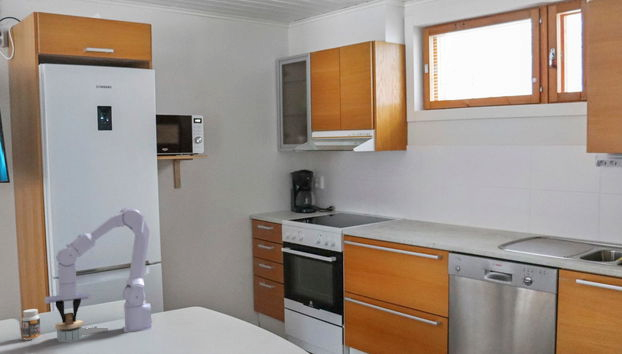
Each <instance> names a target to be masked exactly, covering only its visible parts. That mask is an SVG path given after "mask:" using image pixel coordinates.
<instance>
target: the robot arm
mask: <svg viewBox="0 0 622 354" xmlns="http://www.w3.org/2000/svg"><path fill="white" fill-rule="evenodd" d="M125 226H126V227H127V228H129V230H130V231H131V232H132V233H133V234H134V241H133V247H132V255H131V260H130V268H129V269H130V270H129V276H128V279H127V280H126V285H125V287H124V288H123V291H122V297H123V300H125V302H124V304H123V308H124V309H123V310H124V311H123V312H124V326H123V332H124V333H128V332H129V333H130V332H137V331H138V332H139V331H146V330H148V331H149V330H152V329H153V328H152V324H153V320H152V319H153V318H152V306H151V303H148V302H147V303H146V301H145V300H146V297H147V296H146V292H145V282H144V281H145V280H144V276H145V270H146V269H145V268H146V263H147V254H148V248H149V239H150V233H151V232H150V228H149V226H148V223H147V222H146V220H145V216H144V215H143V214H142V213H141V211H140V210H138V209H136V208H132V207H124V208H121V210H120V211H117V212H116V213H114V214H113V215H111V216H110V217H109V218H108V219H106V220H105V221H103V223H100V225H99V226H97V227H96V228H95V229H94V230H93V231H91V232H90V233H88V232H87V233H83V234H78V235H77V238H75V239H74V240H72V242H69V243H67V244H66V245H65V246H66V247H62V248H61V249H59V250H58V252H57V253H56V256H55V258H56V260H57V262H58V265H57V268H58V271H57V276H58V280H57V281H58V295H53V296H45V298H44V299H45V300H44V301H45V304H51V303H52V304H53V303H55V307H56V309H57V310H58V313H59V315H60V318H61V321H62V322H63V323H65V314H66V313H65V302H71V301H72V307H73V309H72V310H73V312H72V313H73V322H76V320H77V313H78V310H79V308H80V306H81V303H82V300H83V301H84V300H91V299H92V298H91V296H92V294H91V292H81V293H78V292H77V291H78V287H77V286H78V285H77V270H76V263H77V259H78V258H80V257H82V256H84V254H86V253H87V252H89V251H90V250H91V249H93V248H94V247H95V246H96V245H95V244H96V241H97V240H99V239H100V238H101V237H103V236H105V235H106V234H108V233H109V232H111V231H112V230H113V229H115V228H120V227H125Z"/></svg>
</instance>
